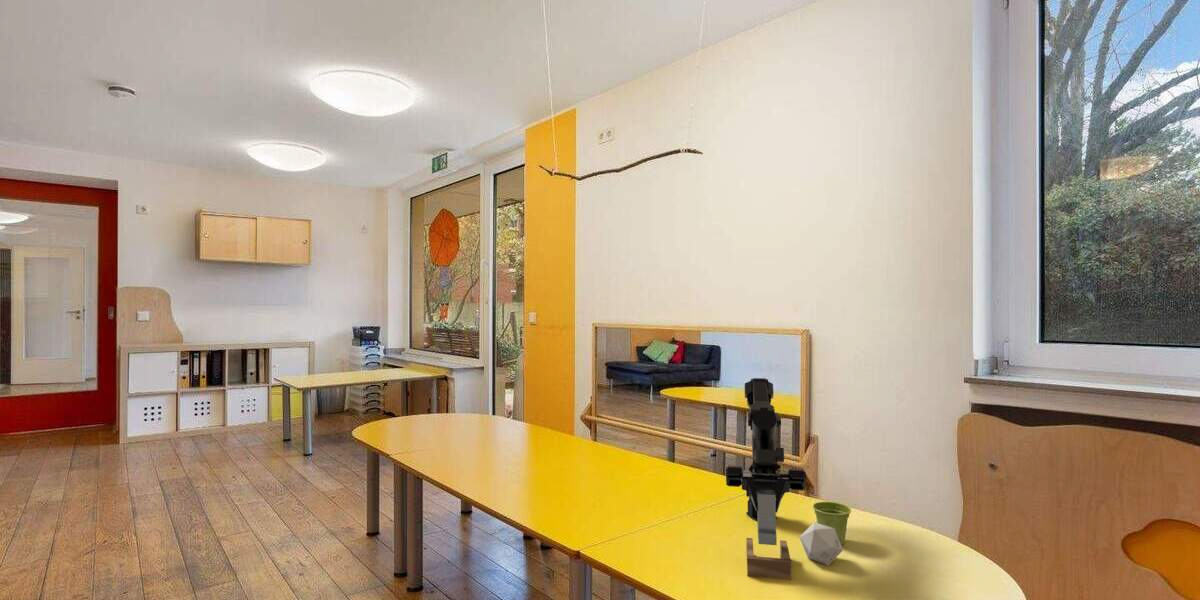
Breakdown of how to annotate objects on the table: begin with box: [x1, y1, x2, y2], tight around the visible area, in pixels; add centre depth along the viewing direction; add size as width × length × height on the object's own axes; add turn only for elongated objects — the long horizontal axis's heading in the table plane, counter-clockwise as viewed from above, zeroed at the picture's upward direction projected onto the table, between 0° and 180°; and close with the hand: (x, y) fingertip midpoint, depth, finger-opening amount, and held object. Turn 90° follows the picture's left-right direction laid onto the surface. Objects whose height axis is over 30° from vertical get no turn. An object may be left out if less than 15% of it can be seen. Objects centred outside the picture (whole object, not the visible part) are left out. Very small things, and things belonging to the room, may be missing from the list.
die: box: [799, 522, 844, 566], centre depth 141 cm, size 8×9×10 cm
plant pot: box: [812, 501, 852, 545], centre depth 152 cm, size 9×9×9 cm
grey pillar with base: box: [756, 489, 778, 546], centre depth 138 cm, size 7×4×11 cm, turn 167°
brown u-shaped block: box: [745, 537, 792, 581], centre depth 138 cm, size 12×10×4 cm
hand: (766, 511), depth 137 cm, fingers closed on grey pillar with base, 4 cm apart
